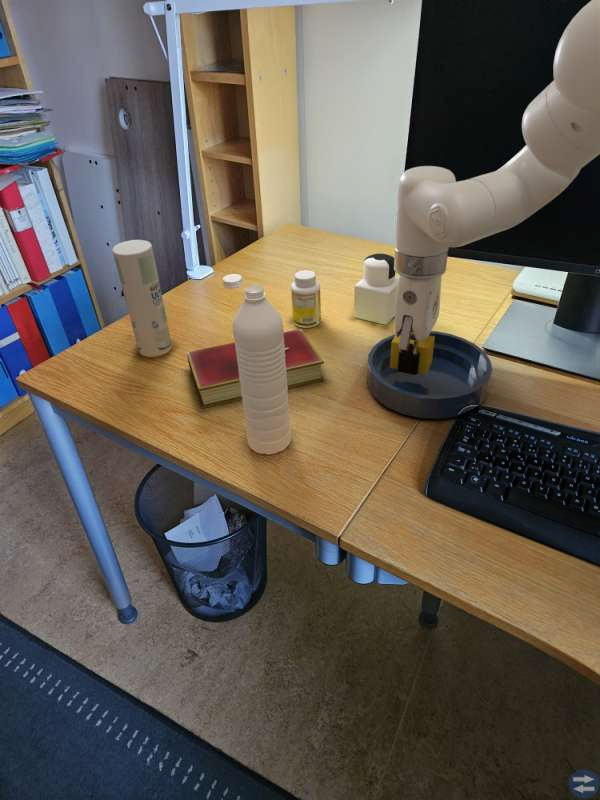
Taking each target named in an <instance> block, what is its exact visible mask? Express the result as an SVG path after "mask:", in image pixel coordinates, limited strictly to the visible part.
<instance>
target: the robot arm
mask: <svg viewBox="0 0 600 800" xmlns="http://www.w3.org/2000/svg"><path fill="white" fill-rule="evenodd" d="M552 66H553V67H552V68H553V69H552V70H553V80H552V81H551V82H550V83H549V84H548V85H547V86H546V87H545V88H544V89H543V90H542V91H540V93H538V95H537V96H536V97H534V99H533V100H532V101H531V102H530V103H529V104H528V105H527V106H526V109H525V110H524V113H523V115H522V118H521V132H522V136H523V141H524V142H525V144H526V145H524V146H523V148H522V149H520V150H519V151H518V152H517V153H516V154H515V155H514V156H513V157H511V158H510V160H508V161H507V162H505V163H504V165H502V166H501V167H500V168H498V169H497V170H495V171H491V172H488V173H485V174H481V175H478V176H474V177H471V178H467V179H465V180H459V181H457V180H456V176H455V174H454V173H453V172H452V170H450V169H447V168H445V167H441V166H435V165H421V166H415V167H411V168H409V169H406V170H405V171H404V172H403V173H402V174H401V175H400V178H399V181H398V190H397V205H396V221H395V223H396V224H395V225H396V226H395V243H394V270H395V274H397V275H399V276H398V277H399V283H398V288H397V290H398V291H397V300H396V310H395V316H394V335H396V336H397V337H399V336H400V335H401V337H400V343H399V357H398V371H399V372H403V373H408V374H413V375H416V374H417V373H418V366H419V355H420V353H419V352H418V346H419V340H420V341H422V342H423V341H425V340H426V339H427V338H428V336H429V334H430V333H431V331H433V329H434V327H435V325H436V322H437V321H438V318H439V316H440V306H441V292H442V276H443V275H444V274H445V273H446V271H447V268H448V267H447V265H448V256H449V248H459V247H464V246H466V245H468V244H472V243H473V242H477V241H480V240H482V239H484V238H487V237H490V236H492V235H495V234H498V233H500V232H503V231H504V232H505V231H507V230H510V229H511V228H514V227H516V226H517V225H519V224H521V223H523V222H524V221H525V220H527V219H528V218H530V217H531V216H532V215H534V214H535V213H537V212H538V211H539V210H541V209H542V208H543V207H545V206H546V205H547V204H549V203H551V202H552V201H553V200H554V199H555V198H556V197H558V196H559V195H560V194H562V192H564V191H565V190H566V189H567V188H569V185H571V183H572V182H573V181H574V179H576V178H577V176H578V175H579V174H580V171H581V169H582V168H584V167H585V166H587V164H589V163H590V162H591V161H593V160H594V159H595V158H597V157H598V156H599V155H600V0H590V1H589V2H588V3H586V5H584V6H583V7H582V8H581V9H580V10H579V11H578V12H577V13H576V15H574V16H573V17H572V19H571V20H570V22H569V23H568V25H567V26H566V27H565V29H564V31H563V33H562V35H561V37H560V39H559V41H558V43H557V46H556V49H555V54H554V58H553V65H552ZM411 332H412V333H414V334H411ZM410 340H414V346H413V344H410Z"/></svg>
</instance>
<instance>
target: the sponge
mask: <svg viewBox="0 0 600 800" xmlns="http://www.w3.org/2000/svg"><path fill="white" fill-rule="evenodd" d="M411 334H414V333H412V332H411ZM394 335H395V334H394ZM400 337H401V335H400V336H399V337H397V336H396V335H395V337H394V339H393V340H392V342H391V359H390V368H393V369H398V357H399V343H400ZM434 340H435V336H428V338H427V339H426V340H425V341H423V342H422V341H420V340H419V346H418V352H419V353H420V355H419V366H418V374H423V375H426V374H427V372H428V370H429V367H430V365H431V363H432V358H433V349H434ZM410 344H413V346H414V340H410Z"/></svg>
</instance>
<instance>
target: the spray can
mask: <svg viewBox="0 0 600 800" xmlns="http://www.w3.org/2000/svg"><path fill="white" fill-rule="evenodd" d="M111 249H112V256H113V259H114V263H115V267H116V270H117V271H116V272H117V274H118V278H119V282H120V286H121V289H122V293H123V297H124V301H125V304H126V309H127V312H128V316H129V319H130V323H131V328H132V332H133V335H134V339H135V343H136V346H137V350H138V352H139V354H140V355H141V356H143V357H146V358H156V357H161V356H163V355H165V354H168V352H170V351H171V350H172V346H173V343H172V339H171V338H172V337H171V334H170V329H169V324H168V319H167V313H166V309H165V305H164V299H163V294H162V289H161V284H160V280H159V275H158V270H157V265H156V260H155V254H154V250H153V245H152V243H151V242H150V241H148V240H145V239H131V240H125V241H122V242H119V243H118V244H116V245H114V246H113V248H111Z"/></svg>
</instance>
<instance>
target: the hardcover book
mask: <svg viewBox="0 0 600 800" xmlns="http://www.w3.org/2000/svg"><path fill="white" fill-rule="evenodd" d="M284 349H285V364H286V374H287V387H288V390H290V389H294V388H298V387H303V386H306V385H308V386H309V385H312V384H315V383H320V382H324V381H325V378H324V375H322V364H323V365H324V363H325V361H324V359H323V358H322V357H321V355H320V354H319V352H318V351H317V349H316V348H315V346H314V345H313V343H312V342H311V340H310V339H309V337H308V336H307V334H306V333H305V331H304V330H303V329H302V328H298V329H293V330H287V331H284ZM186 357H187V363H188V366H189V371H190V375H191V378H192V380H193V384H194V387H195V390H196V393H197V397H198V400H199V403H200V406H201V409H208V408H211V407H216V406H220V405H224V404H229V403H233V402H239V401H242V400H243V399H242V395H241V386H240V379H239V370H238V362H237V355H236V347H235V341H234V342H231V343H225V344H220V345H216V346H211V347H206V348H201V349H196V350H192V351H187V352H186Z"/></svg>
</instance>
